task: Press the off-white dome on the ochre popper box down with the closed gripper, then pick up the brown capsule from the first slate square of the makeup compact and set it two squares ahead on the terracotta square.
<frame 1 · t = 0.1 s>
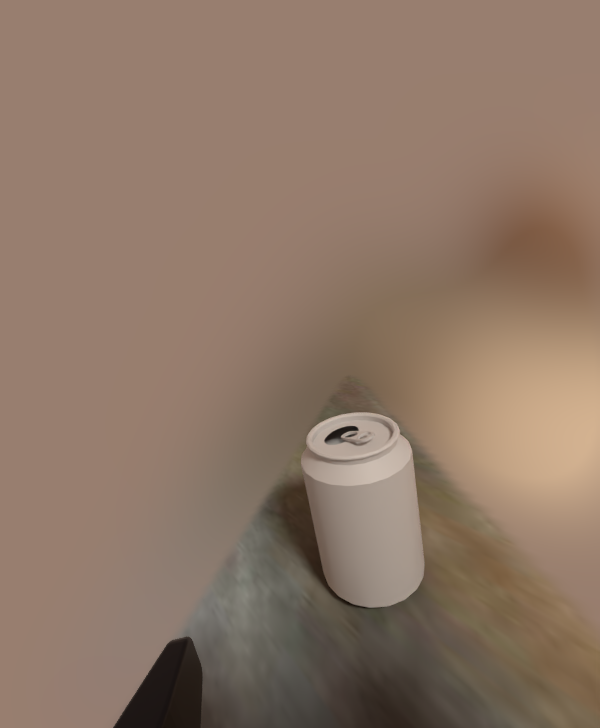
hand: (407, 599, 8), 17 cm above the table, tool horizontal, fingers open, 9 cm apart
can: (374, 573, 29), on the table
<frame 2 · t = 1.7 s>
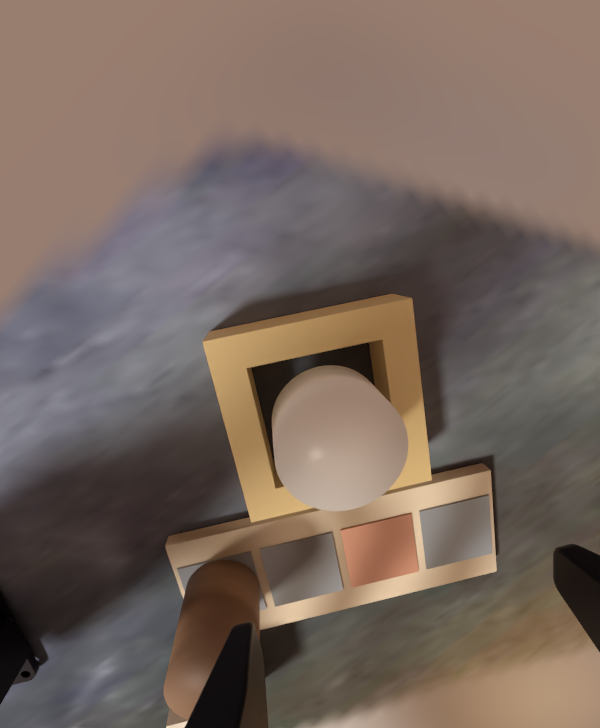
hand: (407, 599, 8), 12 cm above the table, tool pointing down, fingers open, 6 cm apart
makeup compact: (338, 549, 22), on the table
popper box: (318, 397, 19), on the table
brown capsule: (223, 590, 21), point 1 cm above the table, touching makeup compact
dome: (334, 434, 15), point 4 cm above the table, slide at 0.0 cm
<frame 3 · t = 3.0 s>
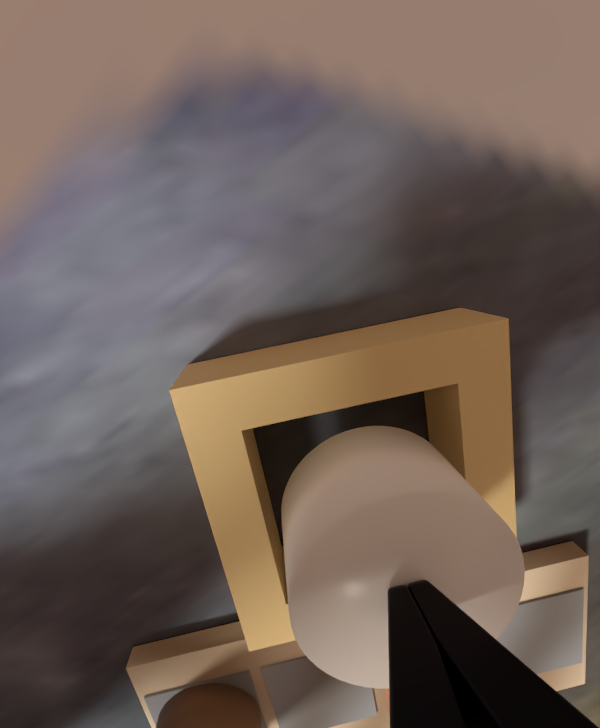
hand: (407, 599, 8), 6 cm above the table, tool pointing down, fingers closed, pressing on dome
makeup compact: (370, 656, 16), on the table
popper box: (347, 457, 13), on the table
brown capsule: (210, 721, 15), point 1 cm above the table, touching makeup compact
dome: (386, 545, 9), point 4 cm above the table, slide at 0.0 cm, touching gripper
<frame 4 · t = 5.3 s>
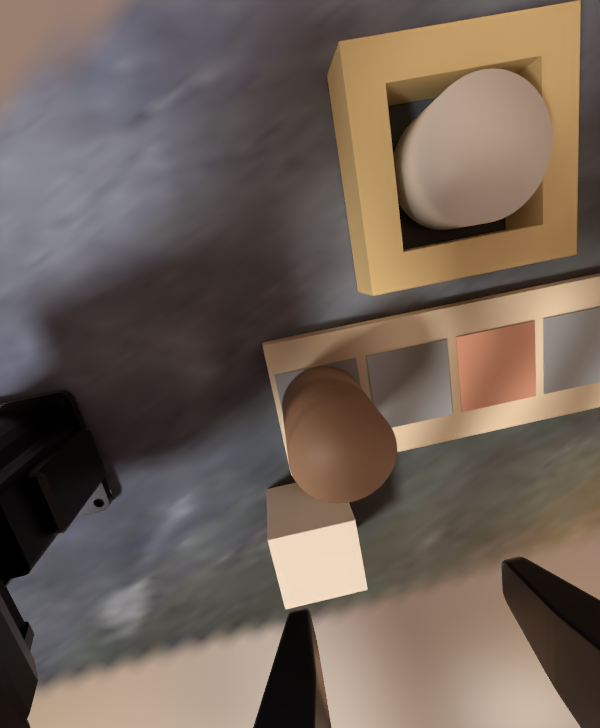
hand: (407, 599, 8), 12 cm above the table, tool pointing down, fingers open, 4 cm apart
makeup compact: (446, 371, 20), on the table
popper box: (440, 173, 17), on the table
brown capsule: (322, 405, 18), point 1 cm above the table, touching makeup compact
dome: (464, 160, 15), point 2 cm above the table, slide at 2.1 cm
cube: (308, 510, 21), on the table
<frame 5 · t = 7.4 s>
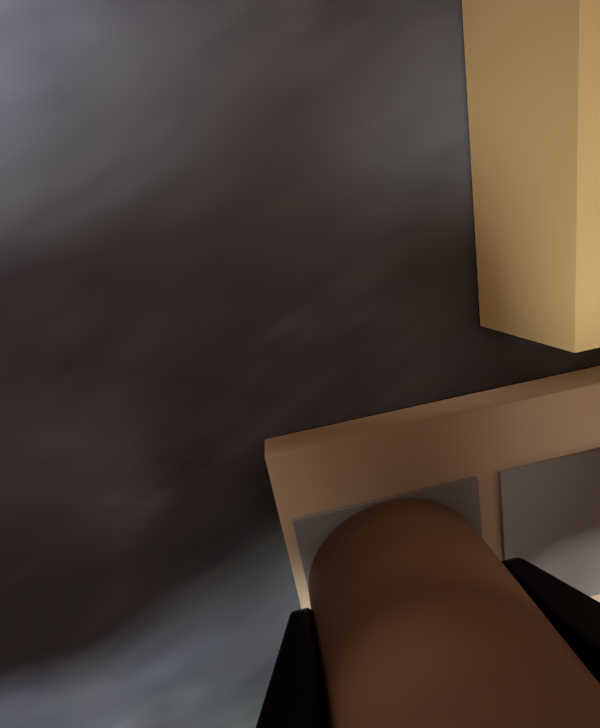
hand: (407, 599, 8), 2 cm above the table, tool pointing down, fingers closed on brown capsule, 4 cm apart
brown capsule: (397, 576, 8), point 1 cm above the table, touching gripper, makeup compact
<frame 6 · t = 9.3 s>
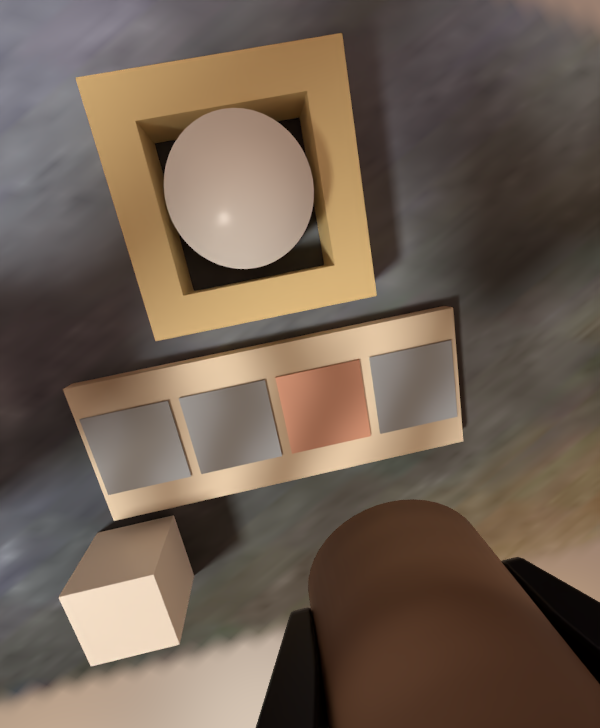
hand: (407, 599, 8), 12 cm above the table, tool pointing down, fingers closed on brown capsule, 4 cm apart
makeup compact: (277, 411, 19), on the table
popper box: (244, 207, 16), on the table
brown capsule: (397, 577, 8), point 11 cm above the table, touching gripper
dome: (242, 199, 14), point 2 cm above the table, slide at 2.1 cm
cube: (147, 553, 20), on the table
when the fingers open (3 cm above the table, at t = 11.2 s): brown capsule drops 1 cm, resting on makeup compact.
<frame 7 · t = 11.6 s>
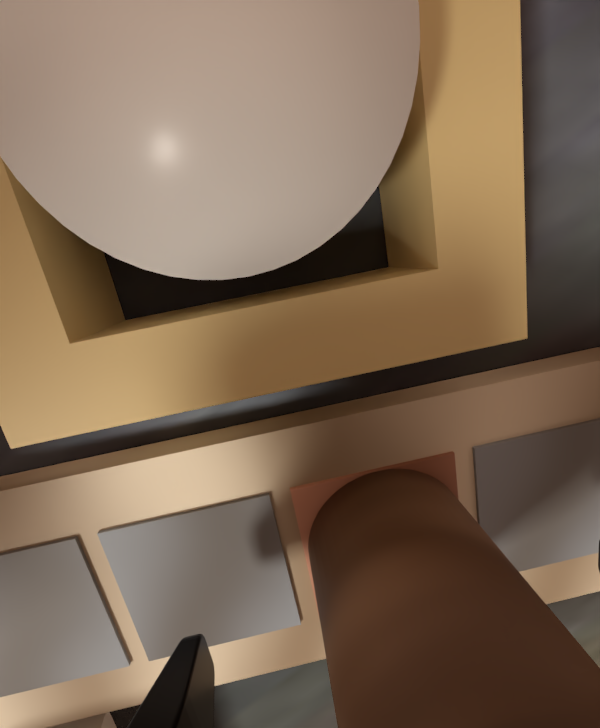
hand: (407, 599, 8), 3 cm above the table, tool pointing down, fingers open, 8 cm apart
makeup compact: (292, 535, 10), on the table
popper box: (227, 145, 8), on the table
brown capsule: (387, 540, 9), point 1 cm above the table, touching makeup compact
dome: (213, 101, 6), point 2 cm above the table, slide at 2.1 cm
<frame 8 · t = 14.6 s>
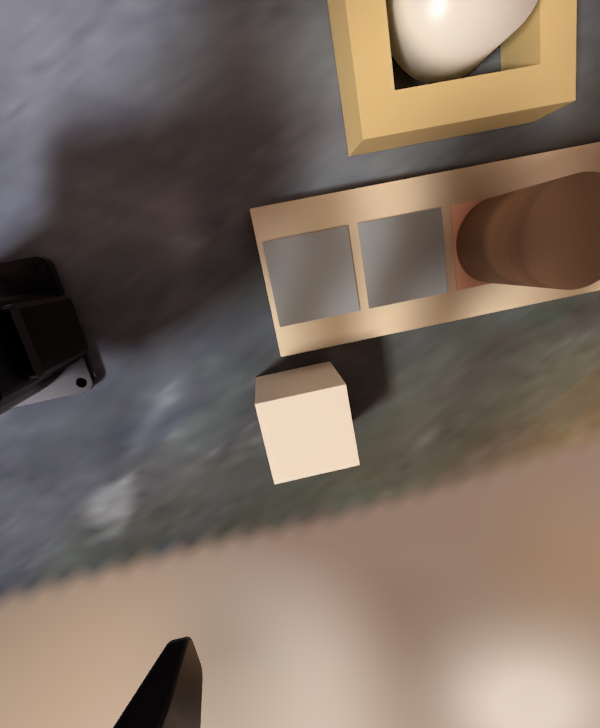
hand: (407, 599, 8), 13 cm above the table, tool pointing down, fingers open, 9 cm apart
makeup compact: (440, 250, 19), on the table
popper box: (433, 25, 16), on the table
brown capsule: (495, 240, 18), point 1 cm above the table, touching makeup compact
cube: (300, 403, 20), on the table
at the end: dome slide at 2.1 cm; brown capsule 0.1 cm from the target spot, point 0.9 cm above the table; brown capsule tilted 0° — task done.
